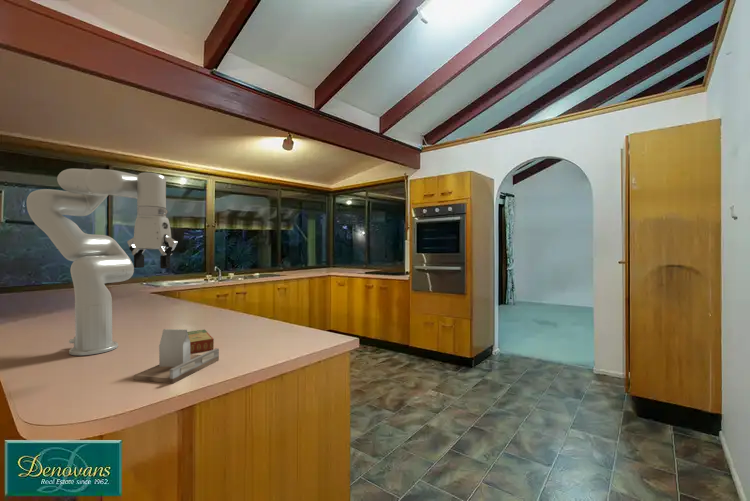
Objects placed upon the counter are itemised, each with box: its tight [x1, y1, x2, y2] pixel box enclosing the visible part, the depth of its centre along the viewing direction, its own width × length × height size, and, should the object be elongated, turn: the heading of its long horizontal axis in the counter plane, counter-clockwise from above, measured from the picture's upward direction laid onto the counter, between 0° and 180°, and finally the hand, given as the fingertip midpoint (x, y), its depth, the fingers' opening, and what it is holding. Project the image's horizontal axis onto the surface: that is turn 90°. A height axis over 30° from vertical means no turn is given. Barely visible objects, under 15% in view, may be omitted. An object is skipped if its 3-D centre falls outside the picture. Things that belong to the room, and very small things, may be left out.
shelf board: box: [133, 347, 220, 384], centre depth 97 cm, size 12×18×4 cm
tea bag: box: [158, 328, 191, 367], centre depth 97 cm, size 4×7×10 cm, turn 89°
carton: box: [187, 328, 215, 354], centre depth 119 cm, size 8×16×4 cm, turn 36°
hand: (152, 267), depth 106 cm, fingers open, 9 cm apart
